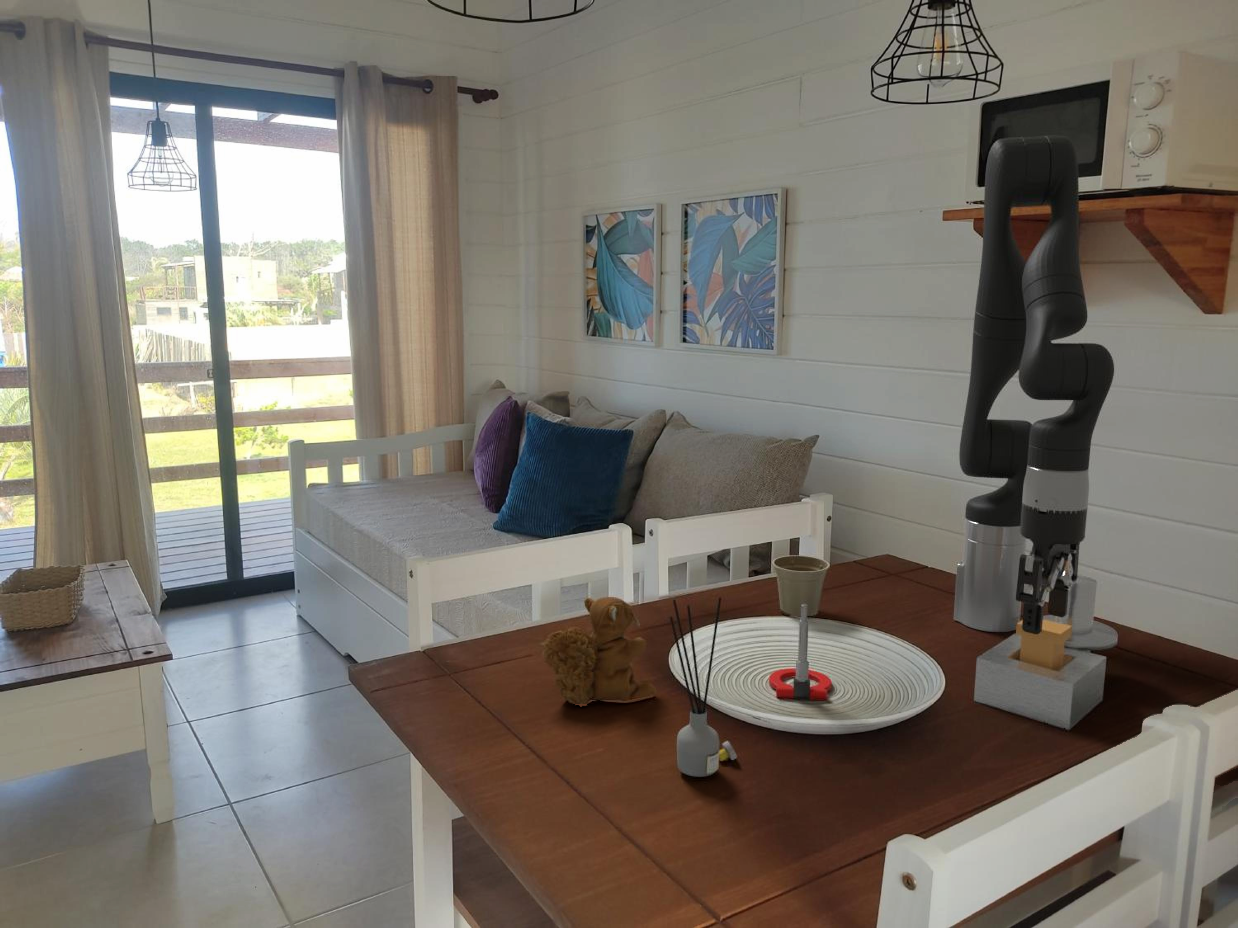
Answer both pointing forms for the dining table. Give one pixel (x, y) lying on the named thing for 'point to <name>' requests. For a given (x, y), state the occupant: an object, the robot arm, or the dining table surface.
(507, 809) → the dining table surface
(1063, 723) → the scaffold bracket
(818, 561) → the flower pot
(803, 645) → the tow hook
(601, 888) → the dining table surface
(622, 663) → the stuffed squirrel
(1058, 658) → the wedge pin
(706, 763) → the reed diffuser
